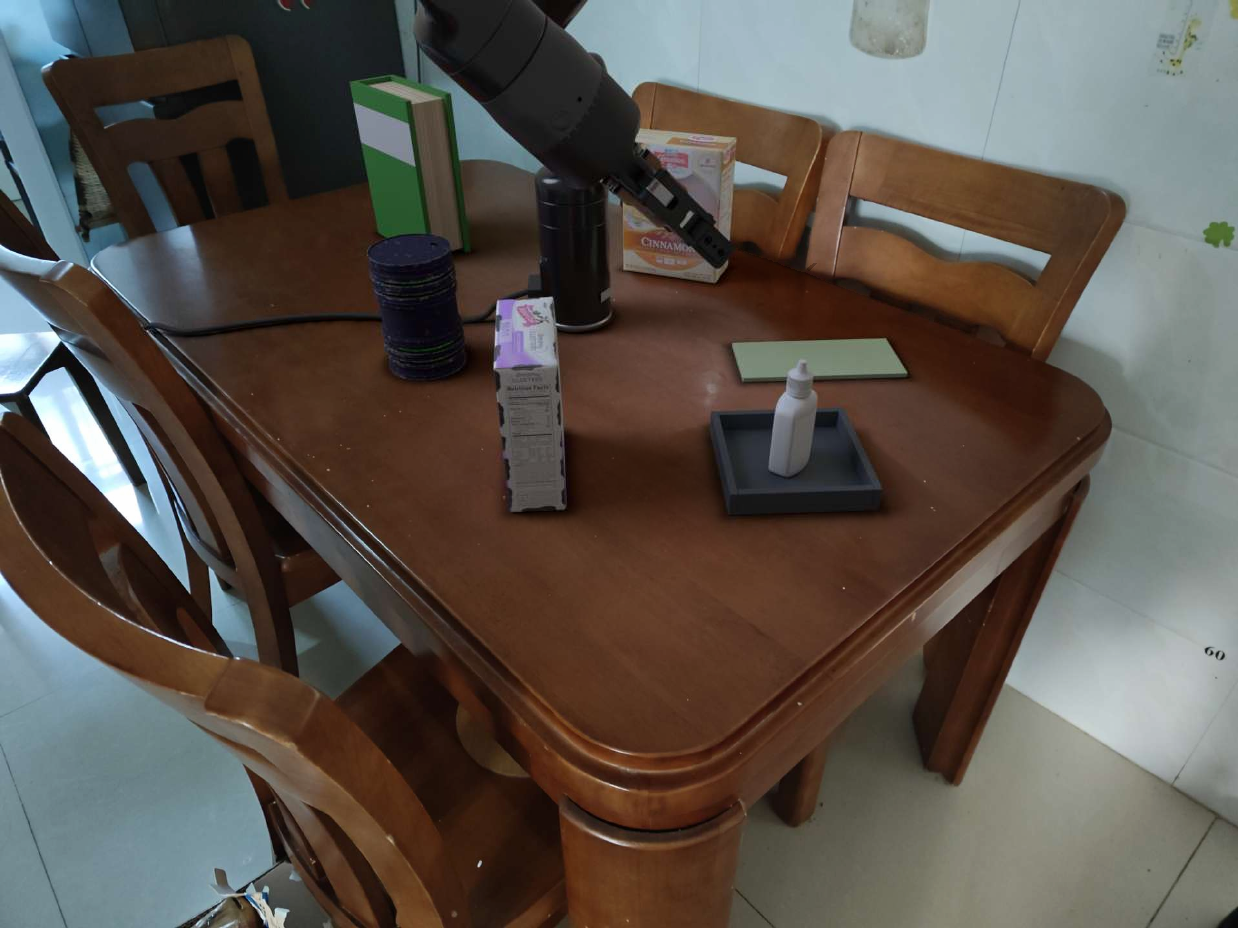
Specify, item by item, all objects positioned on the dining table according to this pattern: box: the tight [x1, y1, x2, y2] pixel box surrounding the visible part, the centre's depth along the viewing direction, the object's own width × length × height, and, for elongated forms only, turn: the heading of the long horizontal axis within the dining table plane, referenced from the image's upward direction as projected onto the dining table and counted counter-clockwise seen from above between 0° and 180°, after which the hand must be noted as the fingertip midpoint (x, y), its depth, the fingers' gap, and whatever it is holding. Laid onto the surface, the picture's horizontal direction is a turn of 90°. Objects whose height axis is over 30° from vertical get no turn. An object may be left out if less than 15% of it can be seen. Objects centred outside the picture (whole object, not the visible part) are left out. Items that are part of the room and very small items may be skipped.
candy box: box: [493, 297, 568, 513], centre depth 81 cm, size 14×6×16 cm, turn 5°
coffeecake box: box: [622, 127, 738, 284], centre depth 122 cm, size 15×7×20 cm, turn 68°
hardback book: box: [349, 74, 472, 254], centre depth 131 cm, size 18×7×24 cm, turn 40°
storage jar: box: [366, 233, 467, 382], centre depth 100 cm, size 10×10×15 cm
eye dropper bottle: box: [769, 359, 819, 477], centre depth 82 cm, size 4×6×12 cm
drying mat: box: [731, 337, 908, 383], centre depth 103 cm, size 20×9×1 cm, turn 92°
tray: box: [709, 406, 884, 516], centre depth 85 cm, size 15×15×3 cm
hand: (700, 240), depth 67 cm, fingers open, 8 cm apart
